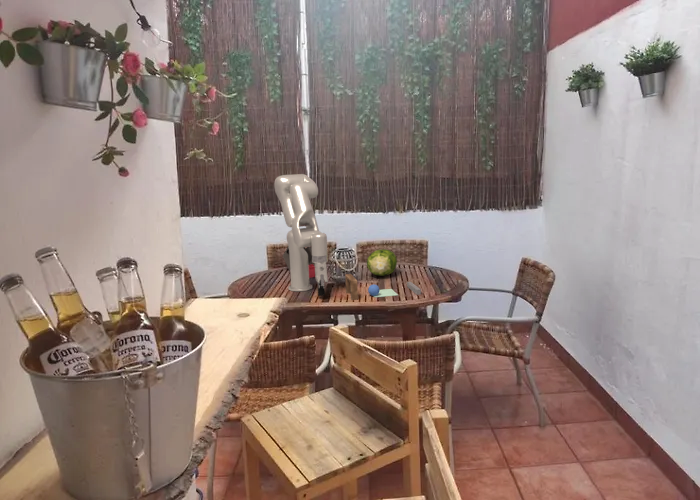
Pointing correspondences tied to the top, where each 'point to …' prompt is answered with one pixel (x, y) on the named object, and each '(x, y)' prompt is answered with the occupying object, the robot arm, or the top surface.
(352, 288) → the bridge
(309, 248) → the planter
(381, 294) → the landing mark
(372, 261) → the lettuce
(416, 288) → the wall
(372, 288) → the ball
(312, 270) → the tape dispenser
